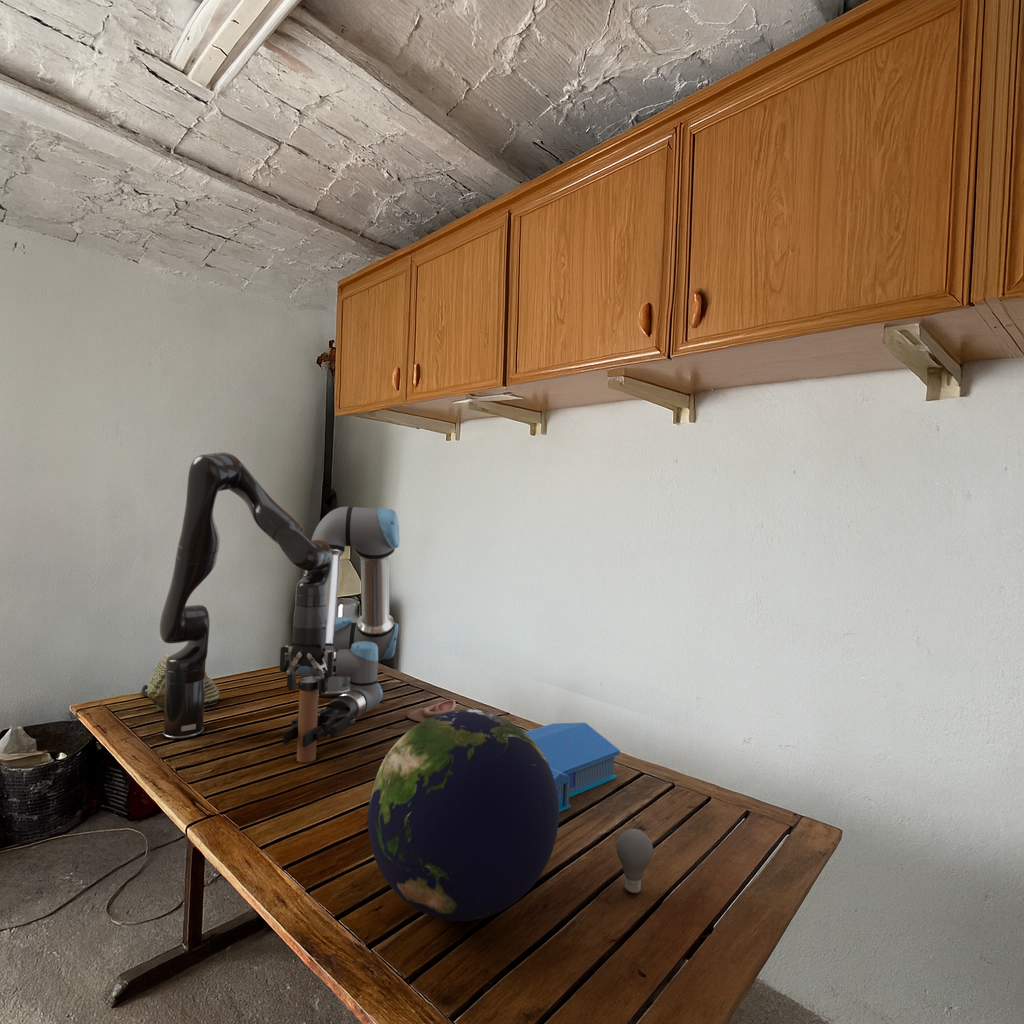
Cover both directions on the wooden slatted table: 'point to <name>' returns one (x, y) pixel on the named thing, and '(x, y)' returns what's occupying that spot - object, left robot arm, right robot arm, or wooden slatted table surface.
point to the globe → (463, 815)
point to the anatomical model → (432, 711)
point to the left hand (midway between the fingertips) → (307, 691)
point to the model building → (575, 757)
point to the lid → (308, 683)
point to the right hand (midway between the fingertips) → (294, 739)
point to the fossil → (158, 687)
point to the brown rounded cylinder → (307, 723)
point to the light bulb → (634, 857)
